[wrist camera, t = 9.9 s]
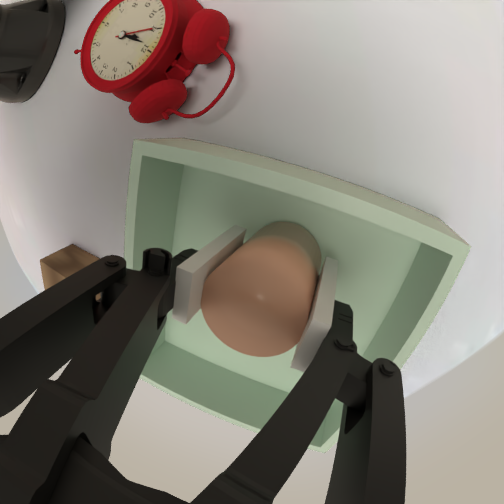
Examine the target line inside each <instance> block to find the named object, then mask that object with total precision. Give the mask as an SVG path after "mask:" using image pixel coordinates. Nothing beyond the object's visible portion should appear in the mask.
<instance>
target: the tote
mask: <svg viewBox="0 0 504 504" xmlns="http://www.w3.org/2000/svg"><path fill="white" fill-rule="evenodd" d="M274 222H290V223H294V224H297V225H299V226H301V227H303V228H304V229H306V230H307V231H308V232H309V233H310V234H311V235H312V236H313V237H314V238H315V240H316V241H317V243H318V245H319V248H320V251H321V256H322V263H321V269H322V266H323V264H324V261H325V258H326V256H327V257H330V258H333V259H336V260H338V271H337V282H336V292H335V300H337V301H340V302H343V303H345V304H348V305H350V307H351V308H352V310H353V341H354V342H355V343H356V345H357V353H358V354H359V355H360V356H362V357H363V358H365V359H366V360H368V361H370V362H372V363H373V361H374V360H376V359H377V358H386V359H388V360H391V361H392V362H394V363H395V364H396V365H397V366H398V367H399V369H401V368H402V366H403V365H404V363H405V362H406V361H407V359H408V358H409V357H410V355H411V354H412V352H413V351H414V349H415V348H416V346H417V345H418V343H419V342H420V340H421V339H422V337H423V336H424V334H425V333H426V331H427V329H428V328H429V326H430V325H431V323H432V321H433V320H434V318H435V316H436V315H437V313H438V311H439V310H440V308H441V306H442V304H443V303H444V301H445V299H446V297H447V295H448V293H449V292H450V290H451V288H452V286H453V284H454V282H455V280H456V278H457V276H458V274H459V272H460V270H461V268H462V266H463V264H464V261H465V259H466V257H467V255H468V253H469V250H470V248H471V246H470V245H469V244H468V243H467V242H466V241H464V240H463V239H462V238H461V237H460V236H459V235H458V234H457V233H455V232H454V231H453V230H452V229H451V228H450V227H448V226H447V225H446V224H445V223H444V222H442V221H441V220H440V219H439V218H437V217H434V216H432V215H430V214H428V213H425V212H423V211H421V210H419V209H416V208H414V207H411V206H409V205H407V204H404V203H402V202H399V201H397V200H394V199H392V198H389V197H387V196H384V195H382V194H379V193H377V192H374V191H371V190H369V189H366V188H363V187H360V186H358V185H355V184H352V183H349V182H346V181H343V180H340V179H338V178H335V177H332V176H329V175H325V174H322V173H319V172H316V171H313V170H310V169H306V168H303V167H300V166H297V165H293V164H290V163H286V162H283V161H279V160H276V159H272V158H268V157H265V156H261V155H257V154H253V153H249V152H245V151H241V150H237V149H233V148H228V147H224V146H220V145H215V144H211V143H206V142H201V141H196V140H191V139H186V138H157V139H134V142H133V149H132V156H131V164H130V172H129V181H128V192H127V204H126V218H125V239H124V259H125V260H126V268H128V269H133V270H137V271H140V270H141V269H142V261H143V251H144V250H146V249H149V248H162V249H165V250H167V251H169V252H170V253H171V254H172V258H173V257H174V256H175V255H178V253H180V252H181V251H183V250H186V249H190V248H192V249H195V250H198V251H199V250H200V249H202V248H203V247H205V246H206V245H207V244H209V243H210V242H212V241H213V240H214V239H216V238H217V237H218V236H220V235H221V234H223V233H224V232H226V231H227V230H228V229H230V228H231V227H233V226H234V225H237V226H240V227H243V228H246V233H245V238H244V242H243V244H244V243H245V242H246V241H247V240H248V239H249V238H250V237H252V236H253V235H254V234H255V233H256V232H257V231H258V230H259V229H261V228H262V227H264V226H265V225H268V224H270V223H274ZM321 269H320V272H321ZM297 344H298V343H297ZM297 344H296V345H295V346H294V347H293V348H292V349H290V350H289V351H287V352H285V353H283V354H280V355H276V356H271V357H256V356H250V355H246V354H243V353H240V352H238V351H236V350H233V349H232V348H230V347H228V346H227V345H226V344H224V343H223V342H222V341H220V340H219V339H218V338H217V337H216V336H215V335H214V333H213V332H212V331H211V330H210V328H209V327H208V325H207V323H206V321H205V319H204V317H203V313H202V310H201V309H200V310H199V311H198V312H197V313H196V314H195V315H194V316H193V318H192V319H191V320H190V321H189V322H188V323H187V324H186V325H185V324H183V323H181V322H179V321H177V320H175V319H173V318H172V309H171V310H170V311H169V312H168V313H167V320H166V323H165V325H164V327H163V329H162V331H161V333H160V335H159V337H158V339H157V341H156V344H155V346H154V348H153V350H152V352H151V354H150V356H149V358H148V360H147V362H146V364H145V366H144V369H143V371H142V373H141V375H140V377H139V378H140V379H142V380H143V381H145V382H147V383H149V384H151V385H152V386H154V387H156V388H158V389H160V390H161V391H163V392H165V393H167V394H169V395H171V396H173V397H175V398H177V399H179V400H181V401H183V402H185V403H187V404H189V405H191V406H193V407H195V408H198V409H200V410H202V411H204V412H206V413H209V414H211V415H213V416H215V417H218V418H220V419H222V420H225V421H227V422H230V423H232V424H235V425H237V426H240V427H242V428H245V429H248V430H250V431H253V432H256V433H259V431H260V430H261V429H262V428H263V427H264V425H265V424H266V423H267V422H268V420H269V419H270V418H271V417H272V415H273V414H274V413H275V411H276V410H277V409H278V407H279V406H280V405H281V404H282V402H283V401H284V400H285V398H286V397H287V396H288V394H289V393H290V391H291V390H292V389H293V387H294V386H295V385H296V383H297V382H298V380H299V379H300V378H301V376H302V375H303V373H304V372H302V371H299V370H296V369H293V368H291V367H290V366H291V363H292V360H293V357H294V353H295V350H296V347H297ZM343 404H344V403H342V402H340V401H339V400H337V399H335V400H334V402H333V404H332V405H331V407H330V409H329V411H328V413H327V415H326V417H325V419H324V420H323V422H322V424H321V426H320V428H319V429H318V431H317V433H316V435H315V436H314V438H313V440H312V441H311V443H310V445H309V446H308V448H307V449H310V450H315V451H318V452H322V453H326V452H327V451H328V450H329V449H330V448H331V447H332V446H333V445H334V444H335V443H336V442H337V441H338V437H339V431H340V424H341V417H342V410H343Z"/></svg>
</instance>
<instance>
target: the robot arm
mask: <svg viewBox="0 0 504 504" xmlns="http://www.w3.org/2000/svg"><path fill="white" fill-rule="evenodd" d="M64 20H65V8H64V4H63V3H62V1H60V0H25V1H20V2H16V3H11V4H6V5H1V4H0V101H3V102H6V103H17V102H24V101H26V100H28V99H29V98H30V97H31V96H32V95H33V94H34V93H35V92H36V90H37V89H38V87H39V86H40V84H41V83H42V81H43V79H44V77H45V75H46V74H47V72H48V69H49V67H50V65H51V63H52V61H53V58H54V56H55V53H56V50H57V48H58V45H59V42H60V38H61V35H62V31H63V26H64ZM245 233H246V228H243V227H240V226H237V225H234V226H233V227H231V228H230V229H228V230H227V231H226V232H224V233H223V234H221V235H220V236H218V237H217V238H216V239H214V240H213V241H212V242H210V243H209V244H207V245H206V246H205V247H203V248H202V249H200V250H199V251H198V250H195V249H192V248H190V249H186V250H183V251H181V252H180V253H178V255H175V256H174V257H173V258H172V254H171V253H170V252H169V251H167V250H165V249H162V248H149V249H146V250H144V251H143V261H142V269H141V270H140V271H137V270H133V269H128V268H126V260H125V259H124V258H122V257H120V256H116V255H110V256H105V257H102V258H101V259H99V260H97V261H95V262H93V263H91V264H90V265H88V266H86V267H84V268H83V269H81V270H79V271H77V272H75V273H74V274H72V275H70V276H68V277H67V278H65V279H63V280H62V281H60V282H58V283H56V284H55V285H53V286H51V287H50V288H48V289H46V290H45V291H43V292H41V293H40V294H38V295H37V296H35V297H33V298H32V299H30V300H29V301H27V302H25V303H24V304H22V305H21V306H19V307H17V308H16V309H15V310H13V311H11V312H10V313H8V314H7V315H5V316H4V317H2V318H1V319H0V417H2V416H4V415H6V414H7V413H9V412H10V411H12V410H13V409H15V408H16V407H17V406H18V405H19V404H21V403H22V402H23V401H24V400H25V399H26V398H27V397H28V396H30V395H31V394H32V393H33V392H34V391H35V390H36V389H37V388H38V389H37V390H36V392H35V394H34V395H33V397H32V398H31V399H30V401H29V403H28V404H27V406H26V407H25V409H24V410H23V412H22V413H21V415H20V417H19V418H18V420H17V422H16V423H15V425H14V426H13V428H12V430H11V431H10V433H9V435H0V504H272V503H273V500H274V498H275V496H276V495H277V493H278V492H279V491H280V489H281V488H282V486H283V485H284V484H285V482H286V481H287V479H288V478H289V476H290V475H291V473H292V472H293V470H294V469H295V467H296V465H297V464H298V463H299V461H300V459H301V458H302V456H303V455H304V453H305V451H306V450H307V448H308V446H309V445H310V443H311V441H312V440H313V438H314V436H315V435H316V433H317V431H318V429H319V428H320V426H321V424H322V422H323V420H324V419H325V417H326V415H327V413H328V411H329V409H330V407H331V405H332V404H333V402H334V400H335V399H337V400H339V401H340V402H342V403H344V404H343V410H342V417H341V424H340V431H339V437H338V443H337V449H336V454H335V460H334V464H333V470H332V474H331V479H330V483H329V488H328V492H327V496H326V500H325V504H404V503H405V487H406V428H405V409H404V397H403V386H402V377H401V372H400V369H399V367H398V366H397V365H396V364H395V363H394V362H392V361H391V360H388V359H386V358H377V359H376V360H374V361H373V363H372V362H370V361H368V360H366V359H365V358H363V357H362V356H360V355H359V354H358V353H357V345H356V343H355V342H354V341H353V310H352V308H351V307H350V305H348V304H345V303H343V302H340V301H337V300H335V292H336V282H337V271H338V260H336V259H333V258H330V257H327V256H326V258H325V261H324V264H323V266H322V269H321V272H320V274H319V277H318V282H317V286H316V290H315V294H314V298H313V302H312V306H311V310H310V314H309V318H308V322H307V325H306V327H305V330H304V332H303V334H302V336H301V339H300V341H299V342H298V344H297V347H296V350H295V353H294V357H293V360H292V363H291V366H290V367H291V368H293V369H296V370H299V371H302V372H304V373H303V375H302V376H301V378H300V379H299V380H298V382H297V383H296V385H295V386H294V387H293V389H292V390H291V391H290V393H289V394H288V396H287V397H286V398H285V400H284V401H283V402H282V404H281V405H280V406H279V407H278V409H277V410H276V411H275V413H274V414H273V415H272V417H271V418H270V419H269V420H268V422H267V423H266V424H265V425H264V427H263V428H262V429H261V430H260V431H259V433H258V434H257V435H256V436H255V437H254V439H253V440H252V441H251V442H250V443H249V445H248V446H247V447H246V448H245V449H244V451H243V452H242V453H241V454H240V455H239V456H238V457H237V458H236V459H235V461H234V462H233V463H232V464H231V465H230V466H229V467H228V468H227V469H226V470H225V471H224V472H222V473H221V474H220V475H218V476H217V477H216V478H215V479H214V480H213V481H212V482H211V483H210V484H209V485H208V486H207V487H206V488H205V489H204V490H203V491H202V492H201V493H200V494H199V495H198V496H197V497H196V498H195V499H194V500H193V501H192V502H191V503H188V502H186V501H183V500H181V499H179V498H177V497H175V496H173V495H171V494H169V493H167V492H164V491H160V490H157V489H153V488H150V487H147V486H144V485H140V484H137V483H134V482H132V481H129V480H127V479H126V478H125V477H124V476H123V475H122V474H121V473H120V472H119V471H118V470H117V469H116V468H115V467H114V466H113V465H112V464H111V463H110V462H109V461H108V459H109V456H110V452H111V441H112V438H113V435H114V433H115V430H116V428H117V426H118V424H119V421H120V419H121V417H122V414H123V412H124V410H125V408H126V405H127V403H128V401H129V399H130V397H131V394H132V392H133V390H134V388H135V385H136V383H137V381H138V379H139V377H140V375H141V373H142V371H143V369H144V366H145V364H146V362H147V360H148V358H149V356H150V354H151V352H152V350H153V348H154V346H155V344H156V341H157V339H158V337H159V335H160V333H161V331H162V329H163V327H164V325H165V323H166V320H167V313H168V312H169V311H170V310H171V309H172V318H173V319H175V320H177V321H179V322H181V323H183V324H185V325H186V324H187V323H188V322H189V321H190V320H191V319H192V318H193V316H194V315H195V314H196V313H197V312H198V311H199V310H200V309H201V297H202V291H203V285H204V283H205V281H206V279H207V278H208V276H209V275H210V274H211V273H212V272H213V271H214V270H215V269H216V268H217V267H218V266H220V265H221V264H222V263H223V262H224V261H225V260H226V259H227V258H228V257H229V256H231V255H232V254H233V253H234V252H235V251H236V250H237V249H238V248H239V247H240V246H242V245H243V242H244V238H245ZM99 293H100V297H101V298H100V299H98V300H96V295H97V294H99ZM70 359H71V361H70V362H69V364H68V365H67V367H66V368H65V370H64V371H63V373H62V374H61V376H60V377H59V378H58V379H57V380H55V381H53V380H49V378H50V377H51V376H52V375H53V374H54V373H55V372H56V371H58V370H59V369H60V368H61V367H62V366H63V365H65V364H66V363H67V362H68V361H69V360H70ZM47 379H48V380H47Z"/></svg>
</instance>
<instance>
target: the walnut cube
mask: <svg viewBox="0 0 504 504" xmlns="http://www.w3.org/2000/svg"><path fill="white" fill-rule="evenodd" d="M97 260H99V258H98V257H96V256H94V255H92V254H90V253H88V252H86V251H84V250H82V249H81V248H79V247H77V246H75V245H73V244H71V245H69V246H67V247H65V248H63V249H61V250H59V251H57V252H55V253H53V254H51V255H49V256H47V257H45V258H43V259H41V260H40V265H41V271H42V277H43V283H44V288H45V290H46V289H48V288H50V287H51V286H53V285H55V284H56V283H58V282H60V281H62V280H63V279H65V278H67V277H68V276H70V275H72V274H74V273H75V272H77V271H79V270H81V269H83V268H84V267H86V266H88V265H90V264H91V263H93V262H95V261H97ZM100 298H101V297H100V293H99V294H97V295H96V300H98V299H100Z"/></svg>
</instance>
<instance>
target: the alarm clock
mask: <svg viewBox="0 0 504 504" xmlns="http://www.w3.org/2000/svg"><path fill="white" fill-rule="evenodd" d="M229 29H230V26H229V23H228V20H227V18H226V17H225V15H223V14H222V13H221V12H219V11H217V10H213V9H203V7H202V6H201V4H200V3H199V2H198V1H196V0H110V1H109V2H107V3H106V4H105V5H104V6H103V8H102V9H101V10H100V11H99V12H98V14H97V15H96V16H95V18H94V19H93V21H92V22H91V24H90V26H89V28H88V30H87V32H86V35H85V37H84V41H83V44H82V49H81V50H78V49H77V50H75V51H74V53H75V54H78V53H79V52H81V69H82V73H83V75H84V78H85V79H86V81H87V82H88V83H89V84H90V85H91V86H92V87H94V88H95V89H97V90H99V91H102V92H106V93H113V94H114V95H115V96H116V97H118V98H120V99H122V100H124V101H128V102H131V104H130V106H129V112H130V114H131V116H132V117H133V118H134V120H136V121H138V122H140V123H152V122H156V121H159V120H162V119H165V120H167V119H168V118H169V117H168V116H169V115H171V114H172V113H174V114H176V115H178V116H181V117H184V118H195V117H199V116H201V115H203V114H204V113H206V112H207V111H209V110H210V109H211V108H212V107H213V106H214V105H215V104H216V103H217V102H218V101H219V99H220V98H221V97H222V96H223V95H224V93H225V92H226V90H227V88H228V87H229V85H230V83H231V81H232V79H233V77H234V71H235V64H234V61H233V59H232V57H231V56H230V55H229V54H228V53H227V52H226V51H225V50H224V49H225V47H226V45H227V42H228V40H229V39H228V38H229ZM222 53H223V54H224V55H225V56H226V58H227V59H228V60H229V62H230V66H231V71H230V75H229V78H228V81H227V82H226V84H225V86H224V88H223V89H222V90H221V92H220V93H219V95H218V96H217V97H216V98H215V99H214V100H213V101H212V103H211V104H210V105H209V106H207V107H206V108H205V109H204V110H202V111H200V112H198V113H196V114H192V115H191V114H183V113H180V112H178V111H176V110H178V109H179V108H180V106H181V105H182V104H183V103H184V101H185V100H186V98H187V90H186V87H185V85H184V83H183V81H184V79H185V78H186V77H187V76H189V75H190V73H191V72H192V70H193V68H194V67H195V65H196V64H209V63H211V62H213V61H215V60H216V59H218V58H219V56H220V55H221V54H222Z"/></svg>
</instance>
